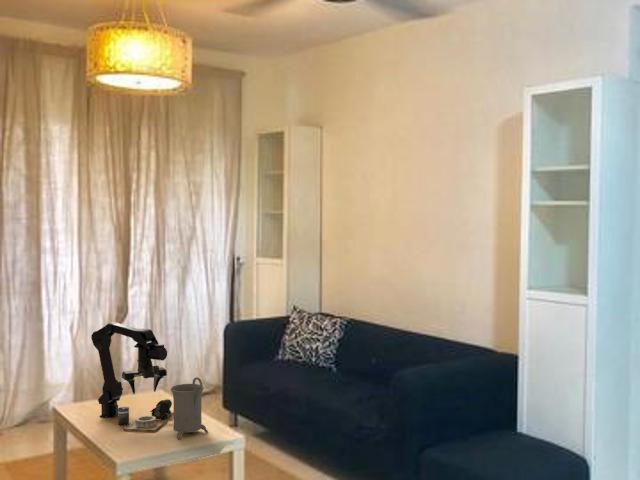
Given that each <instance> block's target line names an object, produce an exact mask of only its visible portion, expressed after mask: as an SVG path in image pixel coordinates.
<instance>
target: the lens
mask: <svg viewBox="0 0 640 480" xmlns="http://www.w3.org/2000/svg"><path fill="white" fill-rule="evenodd" d="M117 418H118V423H117V425H118V426H119V427H121V426H123V427H124V426H125V427H126V426H128V425H129V424H130V407H129V406H122V407H118V415H117Z"/></svg>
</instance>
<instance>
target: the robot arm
mask: <svg viewBox="0 0 640 480" xmlns="http://www.w3.org/2000/svg"><path fill="white" fill-rule="evenodd" d="M115 334H118V335H122V336H124V337H128V338H131V340H133V342H136V344H135V345H134V346H133V348H137V372H136V371H135V372H134V371H132V370H124V371H122V372H121V378H122V379H123V380H124V381H126V382H128V383H129V386H130V389H131V392H132V395H135V394H136V389H135V378H136V377H142V378H144V379H151V378H153V392H156V391H157V388H158V386H159V383H160V380H161V379H164V377H167V376H168V371H167V369H165V367H160V366H159V365H153V361H152V360H155V361H161V362H162V361H165V360H166V358H167V357H168V351H167V347H165V344H159V342H158V340H157V338H156V336H155V334H154V332H153V330H152V329H150V328H136V327H134V326H133V327H132V326H129V325H125V324H122V323H119V322H117V321H113V322H108V323H107V324H106V325H105V326H103V327H102V328H100V329H98V330H95V331H93V332H92V334H91V336H90V337H91V341H92V344H93V346H94V348H95V349H96V350H97V351H98V357H99V361H100V367H101V370H102V376H103V386H102V387H101V389H102V393H101V395H100V396H99V398H98V399H97V402H98V404H99V405H101V415H99V417H100V418H114V417H116V416H118V408H119V404H118V402H119V401H121V400H120V399H121V397H122V395H123V390H124V388H123V384H122V382H121V381H118V379H116V376H115V375H116V374H115V370H114V365H113V359H112V354H111V350H110V347H111V344H112V336H114V335H115Z"/></svg>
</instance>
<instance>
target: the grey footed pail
mask: <svg viewBox="0 0 640 480" xmlns="http://www.w3.org/2000/svg"><path fill="white" fill-rule="evenodd" d="M196 381H198V383H199V384H198V383H196ZM204 389H205V386H204V385H203V382H202V379H201V378H200V377H198V376H195V377H193V379H192V383H182V384H177V385H174V386H171V388H170V391H171V394H172V399H173V401H172V403H173V431H175V432H177V433H178V438H177V439H178V440H179V441H180V440H181V438H182V436H183V434H184V433H187V434H188V433H194V432H198V431H199V430H203V431H204V432H205V433H208V431H209V430H208V429H207V427H206V425H205V424H203V423H202V396H203V391H204Z"/></svg>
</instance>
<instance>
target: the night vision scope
mask: <svg viewBox="0 0 640 480" xmlns="http://www.w3.org/2000/svg"><path fill="white" fill-rule="evenodd" d="M172 405H173V401H171V399H168V398H167V399H166V398H165V399H162V400H159V401H158V402H157V403H156V405H155V407H154V408H152V409H151V411H150V413H151V416H154V417H156V420H167V419H168V418H169V417H170V416H171V414H172V411H171V408H172Z"/></svg>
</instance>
